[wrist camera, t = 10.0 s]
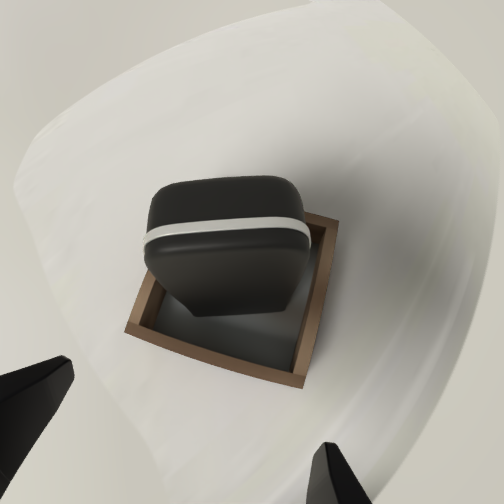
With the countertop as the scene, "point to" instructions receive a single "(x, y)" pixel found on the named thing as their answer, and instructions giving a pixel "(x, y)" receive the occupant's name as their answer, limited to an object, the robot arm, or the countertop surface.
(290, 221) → the battery charger
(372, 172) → the countertop surface
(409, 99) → the countertop surface
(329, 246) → the wooden tray
